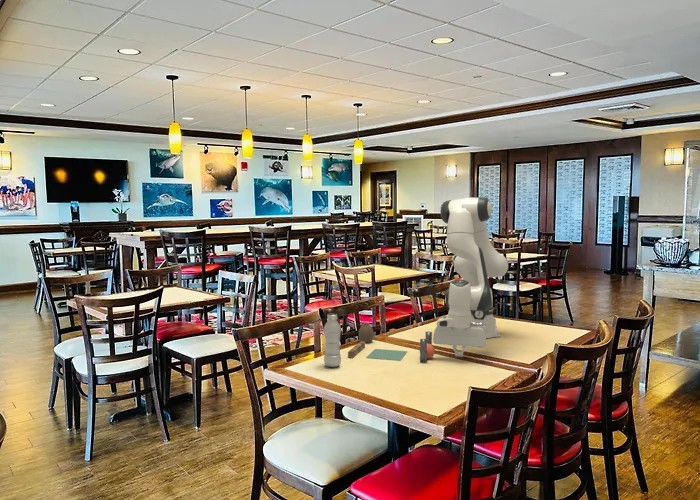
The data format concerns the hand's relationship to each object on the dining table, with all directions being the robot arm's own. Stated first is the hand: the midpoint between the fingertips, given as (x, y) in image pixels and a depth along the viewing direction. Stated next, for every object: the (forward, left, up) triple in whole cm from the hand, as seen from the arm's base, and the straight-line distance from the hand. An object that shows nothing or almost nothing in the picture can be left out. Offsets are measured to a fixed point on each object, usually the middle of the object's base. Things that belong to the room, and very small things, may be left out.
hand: (459, 356), depth 205 cm
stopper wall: (0, -42, -2) cm, 42 cm away
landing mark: (0, -29, -2) cm, 29 cm away
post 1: (+6, -13, -2) cm, 15 cm away
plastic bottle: (+22, -45, -2) cm, 50 cm away
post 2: (-7, -13, -2) cm, 15 cm away
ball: (+1, -12, +1) cm, 13 cm away
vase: (-18, -43, -2) cm, 47 cm away
